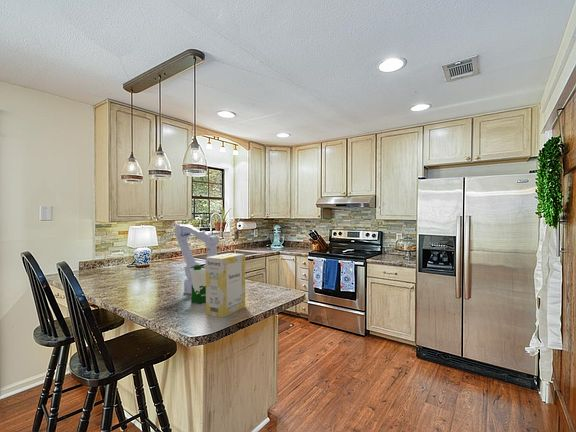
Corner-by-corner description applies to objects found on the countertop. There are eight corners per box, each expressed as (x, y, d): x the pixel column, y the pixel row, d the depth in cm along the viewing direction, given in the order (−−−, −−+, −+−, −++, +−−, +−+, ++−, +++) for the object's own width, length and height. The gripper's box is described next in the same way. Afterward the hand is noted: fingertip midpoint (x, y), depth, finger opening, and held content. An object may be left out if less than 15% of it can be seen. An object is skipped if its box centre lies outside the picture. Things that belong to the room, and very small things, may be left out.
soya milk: (200, 298, 173) (200, 264, 173) (211, 300, 168) (211, 265, 168) (188, 302, 166) (188, 266, 165) (199, 304, 161) (199, 267, 161)
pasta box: (222, 317, 141) (222, 258, 141) (206, 314, 146) (205, 257, 145) (245, 306, 157) (245, 254, 157) (229, 304, 162) (229, 252, 162)
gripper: (210, 257, 170) (211, 281, 170) (224, 254, 184) (224, 276, 184) (200, 257, 172) (201, 280, 172) (214, 254, 186) (214, 275, 186)
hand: (212, 278), depth 178 cm, fingers open, 7 cm apart
